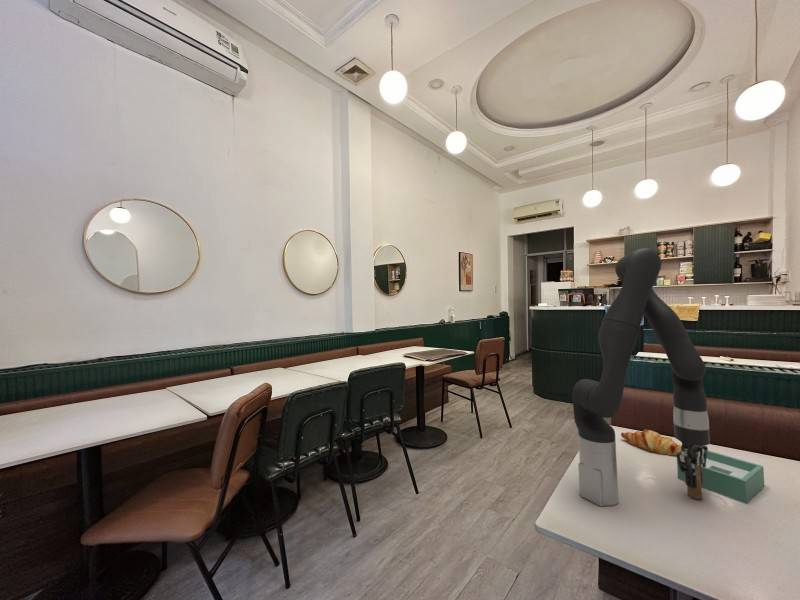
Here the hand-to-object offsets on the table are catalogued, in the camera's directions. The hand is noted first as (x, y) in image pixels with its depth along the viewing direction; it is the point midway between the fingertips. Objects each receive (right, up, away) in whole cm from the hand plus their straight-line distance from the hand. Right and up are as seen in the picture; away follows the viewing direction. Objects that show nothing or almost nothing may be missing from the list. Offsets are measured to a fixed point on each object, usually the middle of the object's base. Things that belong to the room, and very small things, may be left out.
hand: (694, 484), depth 90 cm
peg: (0, -3, 0) cm, 3 cm away
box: (+14, -3, +6) cm, 16 cm away
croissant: (+12, -4, +29) cm, 32 cm away
